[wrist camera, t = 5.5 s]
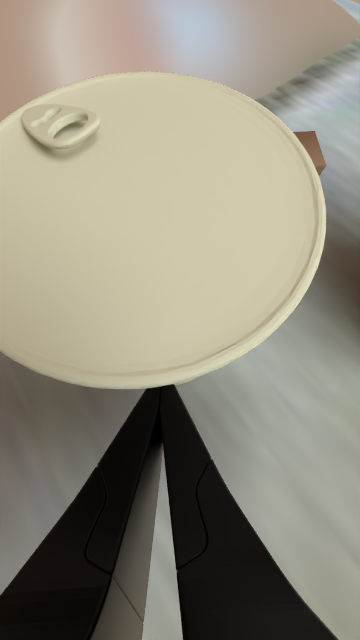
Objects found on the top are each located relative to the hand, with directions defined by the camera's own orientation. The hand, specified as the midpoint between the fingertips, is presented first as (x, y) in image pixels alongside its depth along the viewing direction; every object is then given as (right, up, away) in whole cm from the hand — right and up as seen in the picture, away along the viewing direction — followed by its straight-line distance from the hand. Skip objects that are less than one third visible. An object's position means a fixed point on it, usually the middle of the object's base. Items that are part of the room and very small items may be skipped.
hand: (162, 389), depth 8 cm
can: (0, +3, +8) cm, 8 cm away
